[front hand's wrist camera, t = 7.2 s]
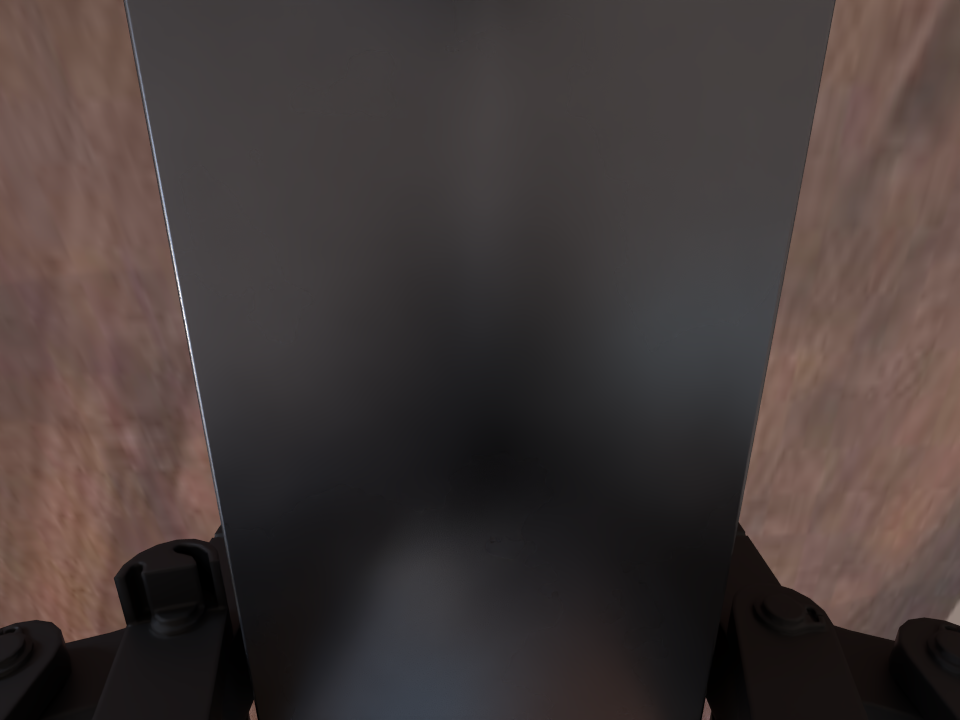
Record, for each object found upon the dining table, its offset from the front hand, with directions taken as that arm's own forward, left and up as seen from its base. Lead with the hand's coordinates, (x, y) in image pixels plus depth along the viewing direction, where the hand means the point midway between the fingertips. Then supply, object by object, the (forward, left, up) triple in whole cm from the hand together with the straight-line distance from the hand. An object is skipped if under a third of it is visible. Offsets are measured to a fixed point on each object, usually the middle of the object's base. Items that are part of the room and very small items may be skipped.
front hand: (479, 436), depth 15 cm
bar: (+8, +2, 0) cm, 9 cm away
